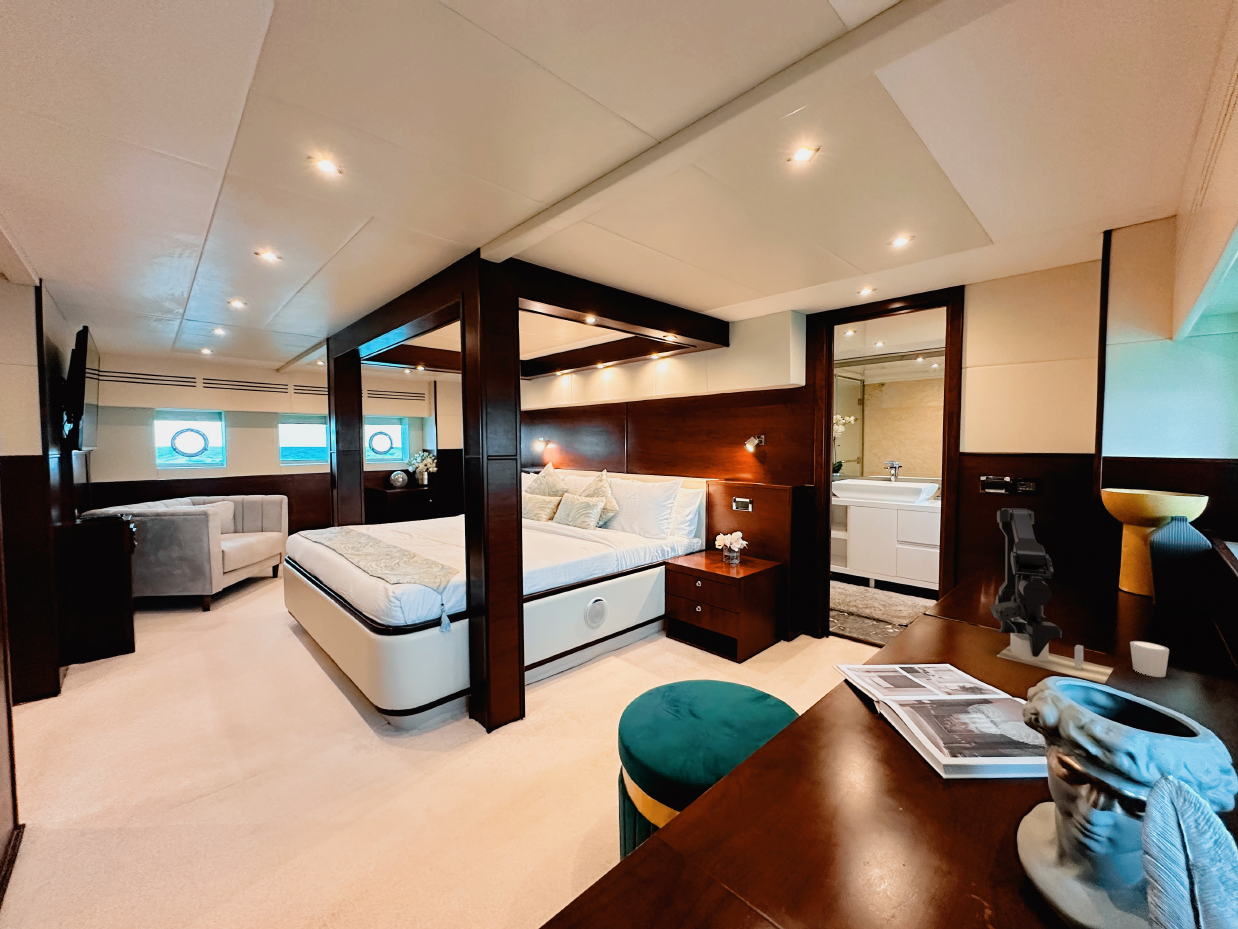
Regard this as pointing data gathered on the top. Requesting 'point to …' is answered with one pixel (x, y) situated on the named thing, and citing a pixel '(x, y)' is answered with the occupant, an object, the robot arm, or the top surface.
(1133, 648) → the shot glass
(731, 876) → the top surface
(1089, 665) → the maple board
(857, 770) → the top surface
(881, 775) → the top surface
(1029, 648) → the box
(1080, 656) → the post
